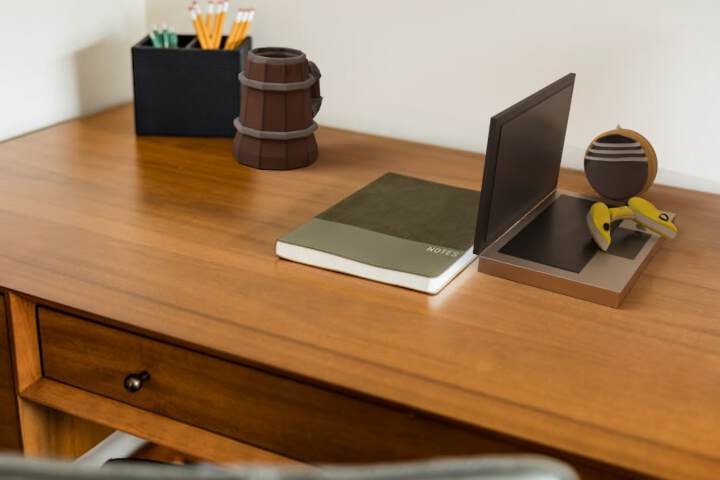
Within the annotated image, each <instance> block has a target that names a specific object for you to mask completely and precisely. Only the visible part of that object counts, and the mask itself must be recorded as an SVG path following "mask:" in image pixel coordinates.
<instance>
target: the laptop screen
mask: <svg viewBox="0 0 720 480" xmlns="http://www.w3.org/2000/svg"><path fill="white" fill-rule="evenodd" d="M576 76H577V73H576V72H575V73H574V72H570V73H568V74H566V75H564V76H562V77H560V78H559V79H557V80H555V81H553V82H552V83H549V84H548V85H546V86H544V87H543V88H540V89H538V90H537V91H536V92H535V91H534V93H531V94H530V95H528V96H527V97H525V98H523V99H521V100H519V101H518V102H515V103H514V104H512V105H511V106H509V107H507V108H505V109H503V110H501V111H500V112H498V113H496V114H494V115H492V116H491V117H490V119H489V126H488V127H489V128H488V134H487V142H486V150H485V156H484V162H483V163H484V164H483V172H482V179H481V187H480V193H479V203H478V209H477V210H478V211H477V218H476V224H475V232H474V240H473V247H472V255H476V256H480V255H481V254H482V253H484V252H485V251H486V250H487V249H488V248H489V247H490V246H492V245H493V244H494V243H495V242H496V241H497V240H499V239H500V238H501V237H502V236H503V235H504V234H505V233H507V232H508V231H509V230H510V229H511V228H512V227H514V226H515V225H516V224H517V223H518V222H519V221H520V220H522V219H523V218H524V217H525V216H526V215H527V214H529V213H530V212H531V211H532V210H533V209H534V208H535V207H537V206H538V205H539V204H540V203H541V202H542V201H544V200H545V199H546V198H547V197H548V196H549V195H551V194H552V193H553V192H554V191H555V190H556V189H557V187H558V182H559V176H560V172H561V165H562V158H563V154H564V148H565V147H564V146H565V143H566V142H565V141H566V135H567V129H568V124H569V117H570V112H571V106H572V99H573V93H574V89H575V88H574V87H575V82H576Z"/></svg>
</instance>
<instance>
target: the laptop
mask: <svg viewBox="0 0 720 480" xmlns="http://www.w3.org/2000/svg"><path fill="white" fill-rule="evenodd" d="M598 202H601V203H604V204H605V205H606V206H607V207H608V209H610V208H619V207H624V206H625V203H626V202H619V201H614V200H610V199H606V198H604V197H601V196H600V197H599V196H596V195H590V194H585V193H581V192H576V191H572V190H567V189H562V188H556V189H555V190H554V191H552V192H551V193H550V194H549V195H548V196H547V197H545V198H544V199H543V200H542V201H541V202H540V203H539V204H537V205H536V206H535V207H534V208H533V209H532V210H530V211H529V212H528V213H527V214H526V215H525V216H523V217H522V218H521V219H520V220H519V221H518V222H516V223H515V224H514V225H513V226H512V227H511V228H510V229H508V230H507V231H506V232H505V233H504V234H503V235H501V236H500V237H499V238H498V239H497V240H496V241H494V242H493V243H492V244H491V245H490V246H489V247H487V248H486V249H485V250H484V251H483V252H482V253H481V254H479V255H478V265H477V272H478V273H483V274H486V275H491V276H494V277H498V278H502V279H505V280H509V281H513V282H517V283H520V284H523V285H528V286H531V287H535V288H540V289H542V290H547V291H550V292H554V293H558V294H561V295H565V296H568V297H573V298H577V299H579V300H584V301H588V302H590V303H591V302H592V303H594V304H598V305H602V306H607V307H610V308H612V309H613V308H614V309H619V307H620V306H621V304H622V303H623V301H624V300H625V298H626V297H627V295H628V294H629V293H630V291H631V290H632V288H633V287H634V286H635V284H636V283H637V281H638V280H639V278H640V277H641V276H642V274H643V272H644V271H645V269H646V268H647V267H648V265H649V264H650V262H651V260H652V259H653V258H654V256H655V255H656V254H657V252H658V251H659V249H660V248H661V246H662V245H663V243H665V240H666V239H667V238H665V237H663V236H661V235H659V234H657V233H655V232H653V231H651V230H649V229H647V228H645V227H644V228H645V229H646V231H642V230H638V229H637V228H636V224H638V223H636V222H634V221H632V220H631V219H620V220H615V221H613V222H611V223H610V238H611V242H610V245H609V246H608V248H607V250H606V251H604V250H602V249H601V248H600V247H599V245H598V244H597V243H596V242H595V240H594V239H593V237H592V235H591V233H590V231H589V229H588V226H587V221H586V218H587V214H588V210H589V208H590V206H591V205H594V204H595V203H598ZM657 210H658V211H659V212H660V214H663V213H664V214H666V215H668V217H669V221H670V222H672V223H673V224H674V225H675V221H676V217H677V213H675V212H671V211H665V210H661V209H657ZM662 216H664V215H662ZM664 217H665V218H666V216H664ZM666 219H667V218H666Z"/></svg>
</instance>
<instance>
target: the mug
mask: <svg viewBox="0 0 720 480" xmlns="http://www.w3.org/2000/svg"><path fill="white" fill-rule="evenodd" d="M244 62H245V63H244V70H243V71H241V72H239V73H238V76H237V79H238V81H239V82H240V83H241V84H242V92H241V99H240V100H241V101H240V108H239V116H237V117H236V118H234V119H233V126H234V127H235V129H236V133H235V136H234V138H233V140H232V155H233V156H234V159H236V162H238V163H239V164H243V165H246V166H250V167H253V168H256V169H260V170H262V169H263V170H278V171H279V170H280V171H281V170H283V171H287V170H291V169H292V170H293V169H297V168H302V167H303V168H304V167H309V166H310V165H311V164H313V162H315V160H317V159H318V158H319V157H318V155H319V153H318V152H319V144H318V142H317V139H316V136H315V133H314V132H316V131H317V130H318V128H319V124H318V123H317V121H316V120H315V117H316V116H317V115H318V113H319V112H320V110H321V107H322V103H323V100H324V97H323V96H322V95H321V78H322V73H321V70H320V69H319V67H318V66H317V64H316V63H315V62H314V61H313V60H309V59H308V58H307V54H306V52H304V51H302V50H301V49H298V48H297V49H296V48H293V47H286V46H262V47H254V48H253V49H250V50H249V51H247V55H246V56H245V61H244Z"/></svg>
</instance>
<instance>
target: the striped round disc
mask: <svg viewBox="0 0 720 480" xmlns="http://www.w3.org/2000/svg"><path fill="white" fill-rule="evenodd" d="M658 163H659V162H658V157H657V153H656V151H655V149H654V147H653V145H652V143H651V142H650V141H649V140H648V139H647V138H646V137H645V136H644V135H643V134H642V133H640V132H637V131H635V130H633V129H628V128H622V127H621V126H620V123H617V124H616V126H615V128H614V129H611V130H607V131H605V132H602V133H600V134H599V135H596V136H595V138H593V139H592V140H591V142H590V143H589V144H588V146H587V147H586V150H585V153H584V156H583V172H584V175H585V178H586V180H587V183H588V184H589V186H590V187H591V189H592V190H593V191H594V192H595V193H596V194H598V195H599V196H600V197H601V198H605V199H610V200H614V201H619V202H624V203H626V201H628V200H630V199H631V198H633V197H639V198H640V196H642V195H643V194H644V193H645V192H647V191H648V190H649V189H650V188H651V187H652V185H653V184H654V182H655V180H656V177H657V174H658V170H659V169H658V168H659V164H658Z"/></svg>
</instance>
